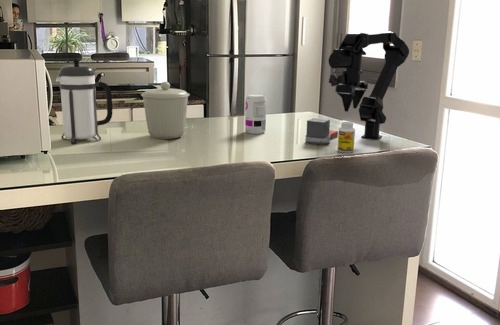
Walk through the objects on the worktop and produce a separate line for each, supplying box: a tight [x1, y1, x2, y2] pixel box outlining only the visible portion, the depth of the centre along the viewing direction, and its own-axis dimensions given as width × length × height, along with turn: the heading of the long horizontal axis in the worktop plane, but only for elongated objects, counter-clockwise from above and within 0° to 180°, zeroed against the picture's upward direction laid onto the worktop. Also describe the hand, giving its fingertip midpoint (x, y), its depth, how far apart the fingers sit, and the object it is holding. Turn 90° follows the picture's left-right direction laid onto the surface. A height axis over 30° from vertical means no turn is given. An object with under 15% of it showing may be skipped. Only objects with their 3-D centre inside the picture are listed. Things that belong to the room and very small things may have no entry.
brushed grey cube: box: [305, 117, 331, 139], centre depth 203 cm, size 6×6×6 cm
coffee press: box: [55, 57, 113, 145], centre depth 200 cm, size 17×16×30 cm
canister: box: [140, 81, 191, 140], centre depth 208 cm, size 18×18×21 cm
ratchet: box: [304, 129, 339, 146], centre depth 208 cm, size 20×9×6 cm, turn 150°
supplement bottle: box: [337, 121, 356, 154], centre depth 189 cm, size 6×6×10 cm
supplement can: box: [244, 93, 267, 135], centre depth 220 cm, size 8×8×15 cm
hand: (350, 109), depth 204 cm, fingers open, 9 cm apart
